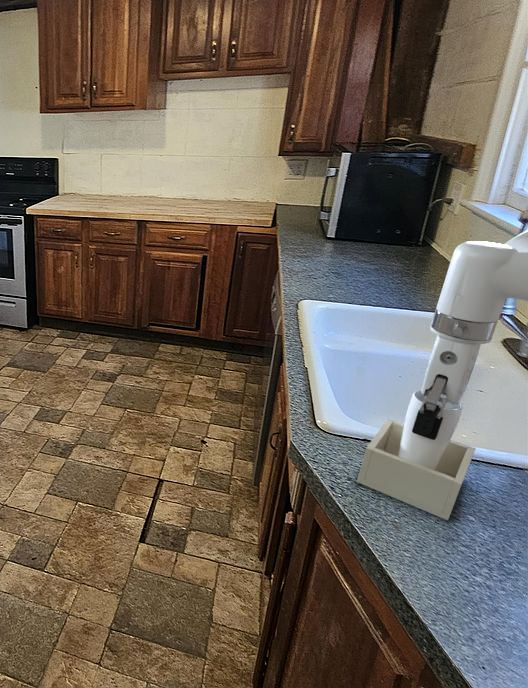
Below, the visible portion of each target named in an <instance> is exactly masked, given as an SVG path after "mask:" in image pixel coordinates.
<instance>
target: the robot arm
mask: <svg viewBox="0 0 528 688" xmlns="http://www.w3.org/2000/svg"><path fill="white" fill-rule="evenodd" d="M507 299H511V300H517V301H523V302H527V303H528V229H527V230H525V231H523V232H520V233H519V234H517V235H516V236H514V237H512V238H510V239H509V240H508V241H506V242H505V243H504V244H502V243H496V242H491V241H490V242H489V241H475V240H474V241H472V240H471V241H465V242H462V243H460V244H458V245H457V246H456V247H455V249H454V251H453V253H452V256H451V259H450V262H449V265H448V269H447V272H446V275H445V279H444V282H443V285H442V288H441V291H440V295H439V297H438V302H437V305H436V308H435V311H434V314H433V317H432V321H431V323H430V327H429V330H430V331H431V332H432V333H433V334H435V335H436V338H435V341H434V345H433V347H432V351H431V353H430V356H429V360H428V363H427V367H426V370H425V374H424V378H423V380H422V381H423V382H422V386H421V389H420V390H421V392H422V394H423V395H424V396H425V398H424V401H423V403H422V406H421V408H420V410H419V411H418V414H417V417H416V420H415V423H414V426H413V429H412V432H413V433H414V434H417V435H420V436H423V437H426V438H429V439H432V440H435V439H436V437H437V435H438V432H439V429H440V426H441V423H442V420H443V417H441V416H442V413H443V411H444V408H445V406H446V403H447V400H448V402H451V403H452V404H454V405H455V404H458V403H459V402H461V400H462V399H463V396H464V395H465V392H466V390H467V388H468V385H469V381H470V379H471V375H472V373H473V370H474V367H475V364H476V361H477V359H478V356H479V353H480V349H481V345H486V344H490V343H491V342H492V339H493V335H494V334H495V331H496V328H497V325H498V323H499V319H500V318H501V314H502V312H503V309H504V306H505V303H506V300H507ZM430 392H431V393H430ZM441 394H443V395H446V396H445V399H444V398H441V397H440V396H441ZM438 402H442V403H441V406H440V408H439V405H438Z"/></svg>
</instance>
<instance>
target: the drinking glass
mask: <svg viewBox="0 0 528 688" xmlns="http://www.w3.org/2000/svg"><path fill="white" fill-rule="evenodd" d="M421 390H422V389H419V390H416V391H414V392H413V393H412V395H411V398H410V401H409V403H408V406H407V411H406V413H405V417H404V422H403V424H404V427H403V433H402V438H401V443H400V448H399V453H398V457H400V458H403V459H405V460H408V461H410V462H413V463H416V464H418V465H421V466H424V467H426V468H429V469H432V470H434V471H435V470H436V468H437V466H438V464H439V462H440V460H441V458H442V456H443V454H444V452H445V450H446V448H447V446H448V444H449V442H450V440H452V438H453V436H454V433H455V431H456V430H457V427H458V424H459V421H460V418H461V416H462V411H463V408H464V405H463V403H462V402H461V401H460V402H459V403H458V404H455V405H454V404H452V403H451V402H448V400H447V403H446V406H445V408H444V411H443V413H442V416H441V417H443V420H442V423H441V426H440V429H439V432H438V435H437V437H436V439H435V440H432V439H429V438H426V437H423V436H420V435H417V434H414V433H413V432H412V429H413V426H414V423H415V420H416V417H417V414H418V411H419V410H420V408H421V406H422V403H423V401H424V398H425V396H424V395H423V394H422V392H421ZM430 393H431V392H430ZM445 396H446V395H443V394H441V396H440V397H441V398H444V399H445ZM441 403H442V402H438V405H439V408H440V406H441Z"/></svg>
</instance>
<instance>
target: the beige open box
mask: <svg viewBox="0 0 528 688" xmlns="http://www.w3.org/2000/svg"><path fill="white" fill-rule="evenodd" d="M403 427H404V422H399V421H396V420H393V419H390V418H386V420H385V421H384V423H383V424H382V426H381V427H380V429H379V430H378V431H377V432H376V434H375V435H374V437H373V438H372V440H371V441H370V442H369V444H368V445H367V447H365V451H364V455H363V459H362V462H361V466H360V469H359V473H358V475H357V480H356V483H358V484H361V485H362V486H365V487H367V488H370V489H373V490H374V491H377V492H379V493H382V494H384V495H386V496H388V497H391V498H394V499H396V500H398V501H401V502H402V503H403V502H404V503H406V504H408V505H410V506H413V507H415V508H418V509H420V510H422V511H424V512H427V513H429V514H431V515H433V516H436V517H438V518H440V519H443V520H444V521H445V520H446V521H449V519H450V516H451V514H452V511H453V509H454V507H455V504H456V501H457V498H458V496H459V493H460V491H461V488H462V486H463V484H464V481H465V478H466V475H467V473H468V470H469V467H470V465H471V462H472V460H473V458H474V454H475V452H476V447H473V446H471V445H467V444H464V443H462V442H458V441H455V440H453V439H451V440H450V442H449V444H448V446H447V448H446V450H445V452H444V454H443V456H442V458H441V460H440V462H439V464H438V466H437V468H436V470H435V471H434V470H432V469H429V468H426V467H424V466H421V465H418V464H416V463H413V462H410V461H408V460H405V459H403V458H400V457H398V453H399V448H400V443H401V438H402V433H403Z"/></svg>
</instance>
